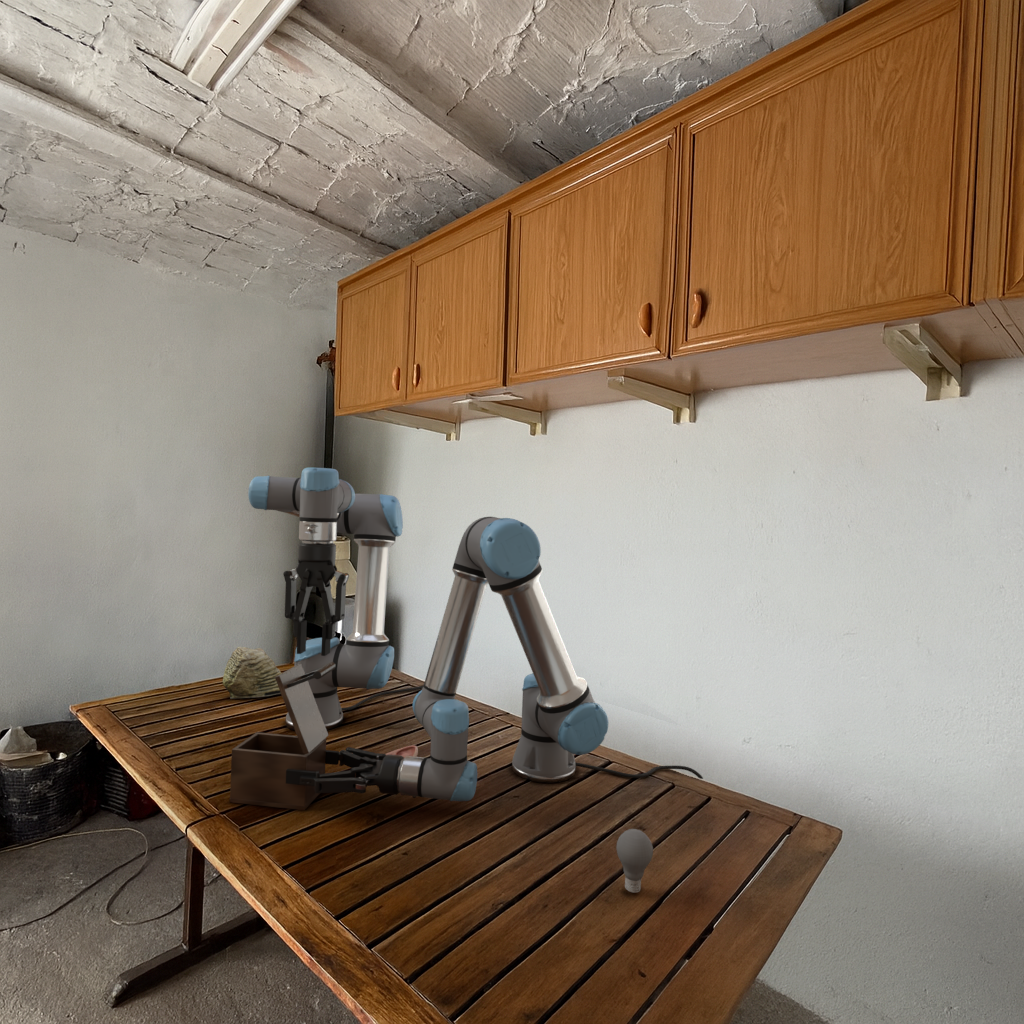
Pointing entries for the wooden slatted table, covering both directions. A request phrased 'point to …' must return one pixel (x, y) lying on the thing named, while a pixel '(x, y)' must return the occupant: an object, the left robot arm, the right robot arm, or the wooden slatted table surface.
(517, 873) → the wooden slatted table surface
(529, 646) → the right robot arm
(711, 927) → the wooden slatted table surface
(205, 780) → the wooden slatted table surface
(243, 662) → the fossil
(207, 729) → the wooden slatted table surface
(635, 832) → the light bulb
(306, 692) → the lid
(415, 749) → the anatomical model
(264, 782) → the chest
